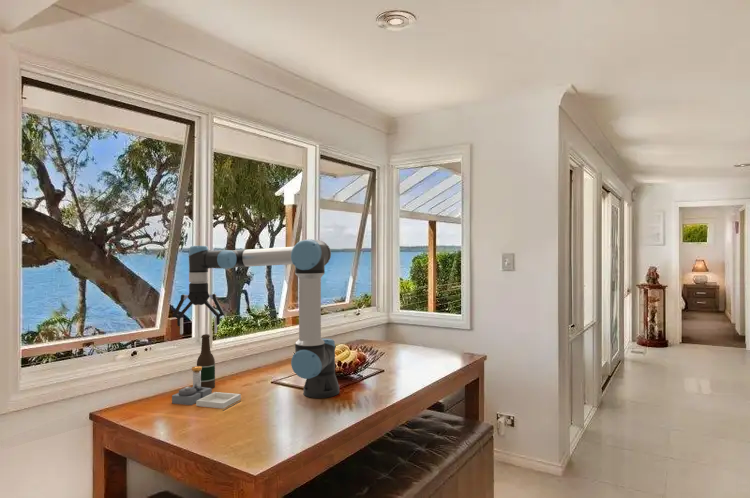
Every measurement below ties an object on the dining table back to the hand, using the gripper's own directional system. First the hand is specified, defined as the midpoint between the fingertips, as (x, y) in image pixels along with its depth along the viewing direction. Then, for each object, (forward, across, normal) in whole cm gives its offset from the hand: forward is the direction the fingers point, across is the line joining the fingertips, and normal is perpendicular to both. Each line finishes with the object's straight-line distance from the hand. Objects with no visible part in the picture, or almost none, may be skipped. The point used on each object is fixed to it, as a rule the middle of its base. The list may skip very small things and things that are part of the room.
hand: (198, 333), depth 203 cm
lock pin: (+25, 0, +5) cm, 26 cm away
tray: (+26, -10, +14) cm, 31 cm away
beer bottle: (+26, -2, -9) cm, 28 cm away
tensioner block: (+26, +2, +7) cm, 27 cm away
